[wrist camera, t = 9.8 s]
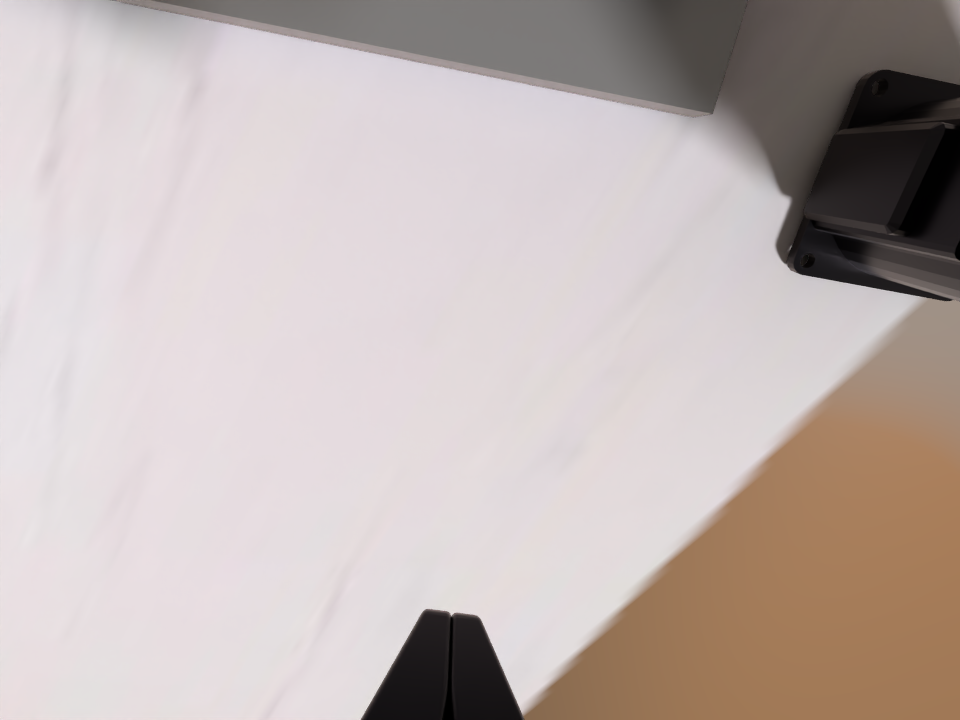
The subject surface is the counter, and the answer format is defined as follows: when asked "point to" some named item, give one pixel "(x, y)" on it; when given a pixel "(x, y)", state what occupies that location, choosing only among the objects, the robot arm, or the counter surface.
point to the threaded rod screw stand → (522, 40)
